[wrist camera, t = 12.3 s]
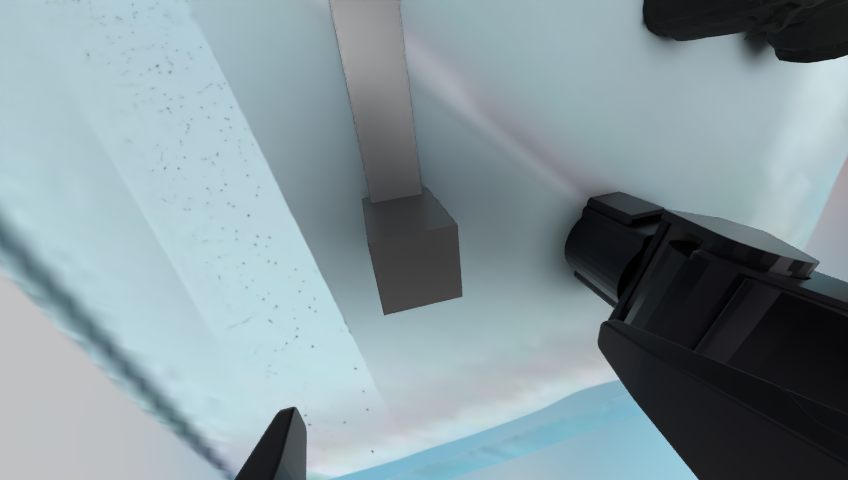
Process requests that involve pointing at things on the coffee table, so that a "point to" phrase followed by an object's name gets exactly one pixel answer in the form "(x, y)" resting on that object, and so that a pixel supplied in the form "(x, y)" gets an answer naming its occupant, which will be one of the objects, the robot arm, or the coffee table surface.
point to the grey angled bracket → (394, 163)
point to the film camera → (758, 24)
